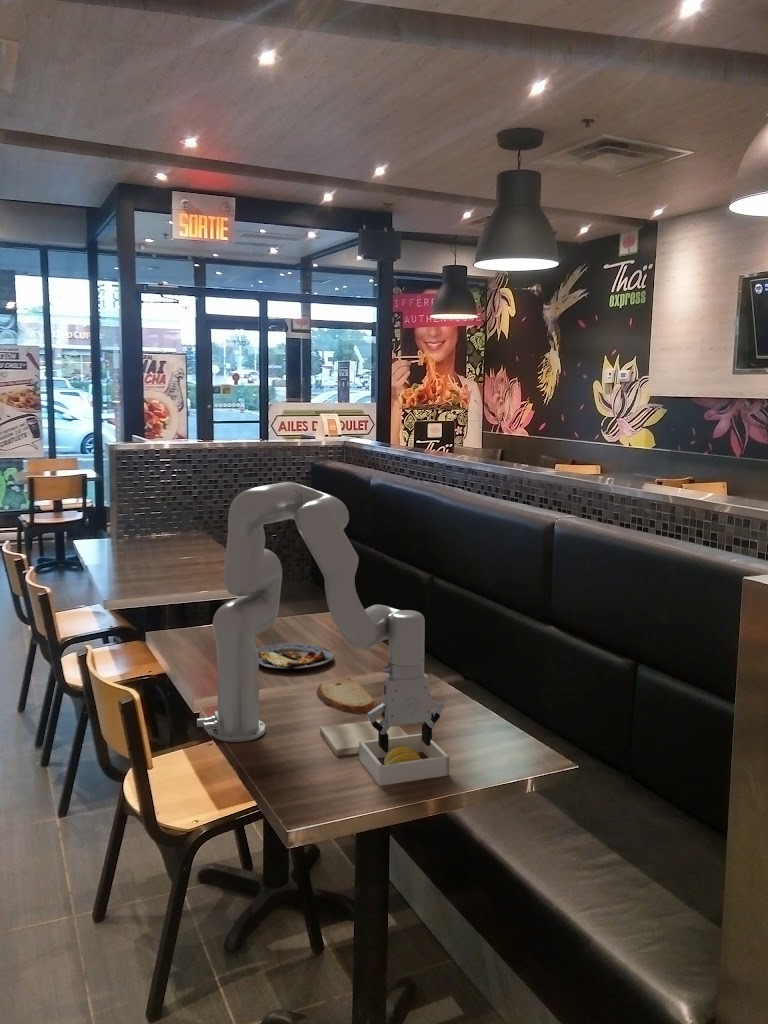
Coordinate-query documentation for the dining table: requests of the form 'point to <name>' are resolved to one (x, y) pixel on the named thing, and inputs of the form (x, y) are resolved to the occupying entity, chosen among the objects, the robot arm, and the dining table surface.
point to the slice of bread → (346, 696)
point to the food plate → (293, 656)
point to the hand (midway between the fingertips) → (405, 746)
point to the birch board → (353, 736)
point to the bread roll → (401, 755)
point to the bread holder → (404, 770)
